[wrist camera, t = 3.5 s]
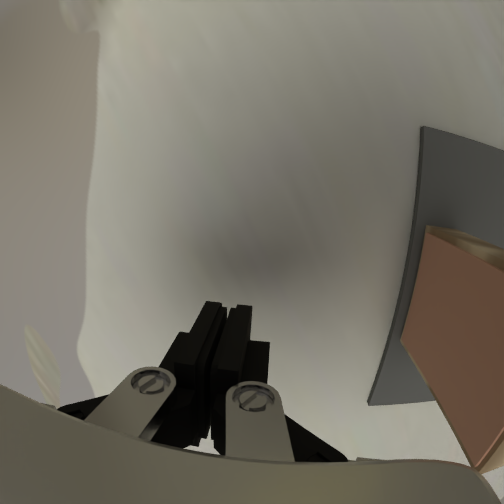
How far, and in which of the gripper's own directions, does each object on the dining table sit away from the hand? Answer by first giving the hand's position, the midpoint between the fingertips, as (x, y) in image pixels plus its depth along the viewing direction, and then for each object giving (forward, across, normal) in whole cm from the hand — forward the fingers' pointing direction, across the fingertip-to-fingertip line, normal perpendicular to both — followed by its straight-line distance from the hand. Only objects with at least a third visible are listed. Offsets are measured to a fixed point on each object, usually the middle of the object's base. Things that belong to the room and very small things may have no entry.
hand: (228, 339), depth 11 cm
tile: (+8, -12, 0) cm, 14 cm away
